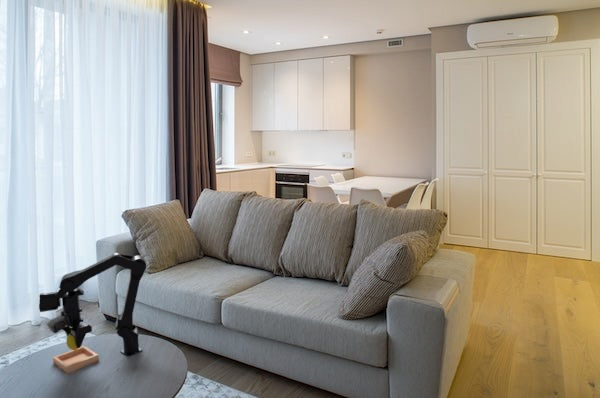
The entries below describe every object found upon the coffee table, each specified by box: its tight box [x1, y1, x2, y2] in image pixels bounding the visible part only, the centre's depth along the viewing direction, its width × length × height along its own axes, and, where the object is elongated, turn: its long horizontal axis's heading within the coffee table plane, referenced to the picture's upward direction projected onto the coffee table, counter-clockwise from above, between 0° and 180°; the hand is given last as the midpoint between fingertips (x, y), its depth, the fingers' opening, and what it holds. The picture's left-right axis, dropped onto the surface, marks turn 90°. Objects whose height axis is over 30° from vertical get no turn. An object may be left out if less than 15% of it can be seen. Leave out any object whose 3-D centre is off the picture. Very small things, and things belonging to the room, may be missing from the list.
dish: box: [52, 345, 100, 374], centre depth 170 cm, size 12×12×2 cm
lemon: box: [66, 333, 83, 351], centre depth 169 cm, size 6×6×8 cm
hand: (75, 345), depth 170 cm, fingers closed on lemon, 5 cm apart
